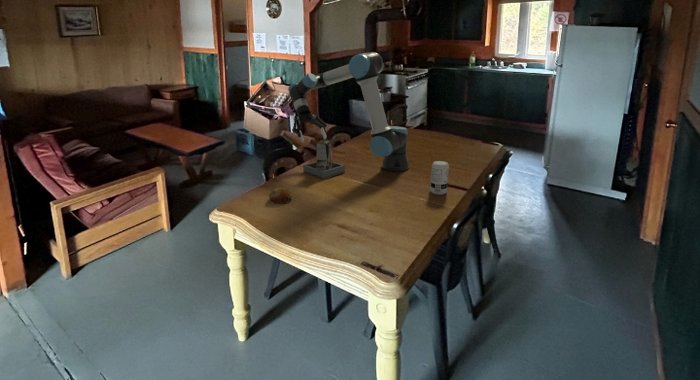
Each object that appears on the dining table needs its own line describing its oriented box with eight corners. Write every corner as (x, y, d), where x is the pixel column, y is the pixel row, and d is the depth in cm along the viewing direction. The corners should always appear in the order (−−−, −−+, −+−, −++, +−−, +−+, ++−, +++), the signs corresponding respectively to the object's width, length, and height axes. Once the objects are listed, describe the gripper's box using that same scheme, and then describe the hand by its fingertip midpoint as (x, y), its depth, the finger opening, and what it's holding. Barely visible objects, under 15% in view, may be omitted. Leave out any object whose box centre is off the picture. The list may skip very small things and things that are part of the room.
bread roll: (283, 202, 240) (277, 187, 240) (297, 198, 234) (291, 182, 233) (269, 209, 233) (262, 193, 232) (283, 205, 226) (277, 188, 225)
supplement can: (428, 189, 248) (430, 160, 242) (444, 188, 248) (446, 160, 243) (432, 195, 240) (434, 165, 235) (448, 194, 241) (451, 165, 236)
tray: (344, 172, 271) (344, 165, 270) (322, 179, 261) (322, 172, 259) (325, 165, 282) (325, 159, 281) (303, 172, 272) (303, 165, 270)
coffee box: (328, 173, 267) (327, 144, 261) (316, 172, 268) (316, 143, 262) (332, 168, 275) (331, 139, 269) (320, 167, 276) (320, 139, 270)
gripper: (320, 109, 291) (332, 140, 284) (280, 114, 279) (292, 146, 272) (323, 102, 284) (336, 133, 277) (283, 106, 273) (295, 139, 266)
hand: (314, 140), depth 275 cm, fingers open, 13 cm apart
